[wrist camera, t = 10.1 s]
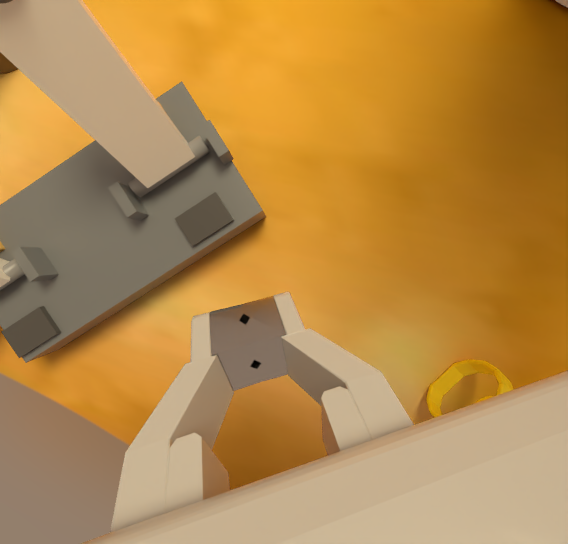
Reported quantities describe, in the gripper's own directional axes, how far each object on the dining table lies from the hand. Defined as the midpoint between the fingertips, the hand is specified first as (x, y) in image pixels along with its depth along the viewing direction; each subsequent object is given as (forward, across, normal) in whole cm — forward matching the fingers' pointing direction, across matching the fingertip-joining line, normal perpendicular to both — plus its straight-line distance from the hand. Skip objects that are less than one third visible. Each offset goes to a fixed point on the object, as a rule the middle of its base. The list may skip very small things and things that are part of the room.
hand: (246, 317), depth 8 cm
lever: (+15, +3, 0) cm, 16 cm away
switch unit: (+17, +9, +4) cm, 20 cm away
